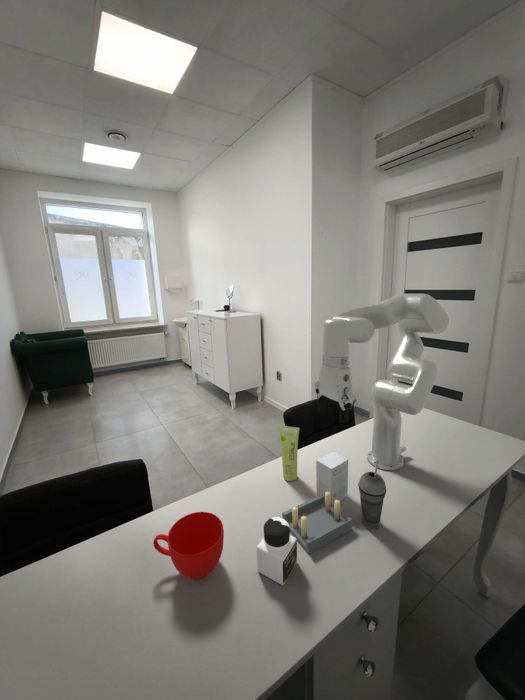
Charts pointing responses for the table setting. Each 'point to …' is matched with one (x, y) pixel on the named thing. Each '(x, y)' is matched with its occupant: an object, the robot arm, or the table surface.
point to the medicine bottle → (277, 551)
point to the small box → (332, 476)
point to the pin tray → (316, 522)
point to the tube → (289, 451)
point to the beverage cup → (371, 498)
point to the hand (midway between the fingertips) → (332, 415)
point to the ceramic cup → (194, 544)
